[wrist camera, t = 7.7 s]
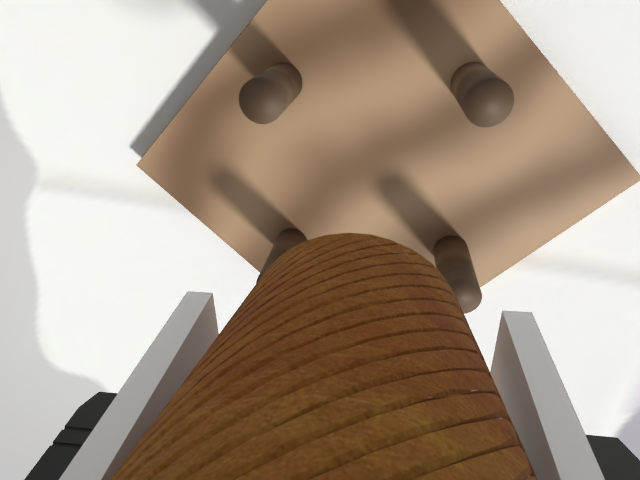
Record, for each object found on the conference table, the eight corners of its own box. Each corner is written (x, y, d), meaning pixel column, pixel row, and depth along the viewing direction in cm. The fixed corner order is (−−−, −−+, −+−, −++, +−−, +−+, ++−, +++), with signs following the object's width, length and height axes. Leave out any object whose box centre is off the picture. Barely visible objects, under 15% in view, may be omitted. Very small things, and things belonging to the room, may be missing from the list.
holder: (634, 172, 26) (695, 218, 21) (366, 354, 34) (361, 420, 29) (383, -139, 21) (379, -183, 16) (143, 159, 29) (89, 196, 24)
